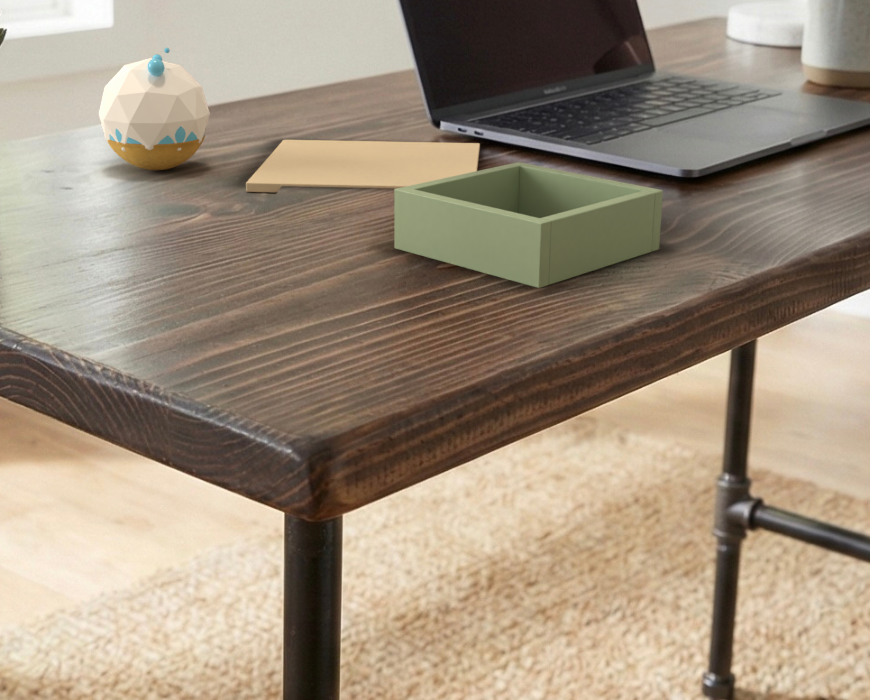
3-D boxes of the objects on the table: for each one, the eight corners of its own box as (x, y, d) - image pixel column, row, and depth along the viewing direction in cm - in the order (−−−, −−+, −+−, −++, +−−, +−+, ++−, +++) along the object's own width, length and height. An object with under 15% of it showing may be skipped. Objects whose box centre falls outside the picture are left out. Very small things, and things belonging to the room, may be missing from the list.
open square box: (516, 223, 73) (518, 161, 72) (658, 257, 67) (663, 190, 65) (394, 256, 66) (393, 188, 65) (538, 296, 60) (541, 223, 59)
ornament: (84, 167, 86) (73, 44, 83) (180, 154, 90) (173, 36, 87) (133, 185, 81) (123, 55, 78) (232, 170, 85) (226, 46, 82)
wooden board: (479, 151, 92) (480, 143, 92) (474, 196, 79) (474, 187, 79) (283, 147, 93) (283, 139, 92) (246, 192, 79) (245, 182, 79)
